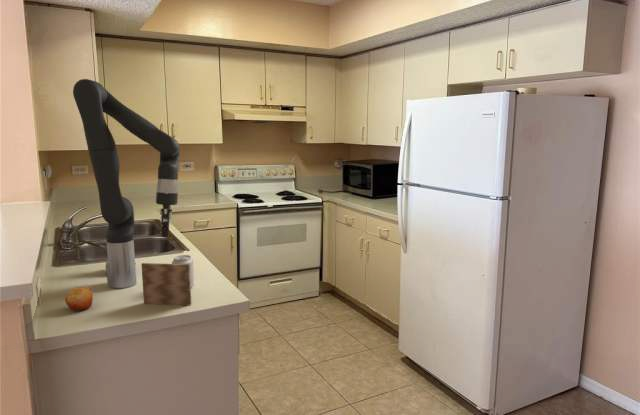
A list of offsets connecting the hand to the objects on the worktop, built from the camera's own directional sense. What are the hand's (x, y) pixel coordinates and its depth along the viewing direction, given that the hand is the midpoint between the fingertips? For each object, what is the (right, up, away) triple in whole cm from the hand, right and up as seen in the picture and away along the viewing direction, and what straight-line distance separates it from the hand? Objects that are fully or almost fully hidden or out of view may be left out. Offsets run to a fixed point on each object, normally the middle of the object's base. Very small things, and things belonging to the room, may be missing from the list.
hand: (165, 235), depth 166 cm
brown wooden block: (+6, -22, -12) cm, 26 cm away
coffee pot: (-29, -17, +17) cm, 38 cm away
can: (+7, -20, +1) cm, 21 cm away
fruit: (-21, -23, -19) cm, 37 cm away
